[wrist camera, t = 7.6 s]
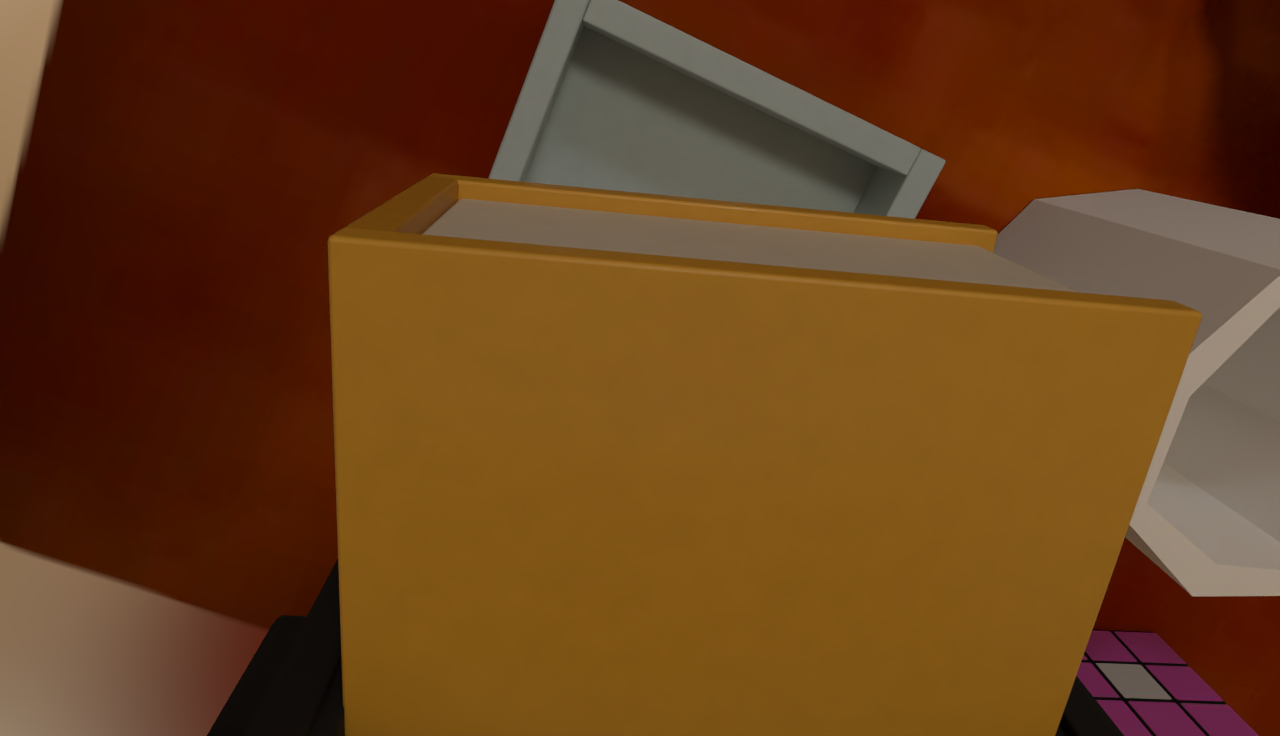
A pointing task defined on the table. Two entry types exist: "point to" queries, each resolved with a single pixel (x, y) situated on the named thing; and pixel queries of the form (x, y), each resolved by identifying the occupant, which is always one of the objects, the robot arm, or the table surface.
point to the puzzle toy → (1153, 689)
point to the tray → (693, 124)
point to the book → (722, 467)
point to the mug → (1188, 369)
